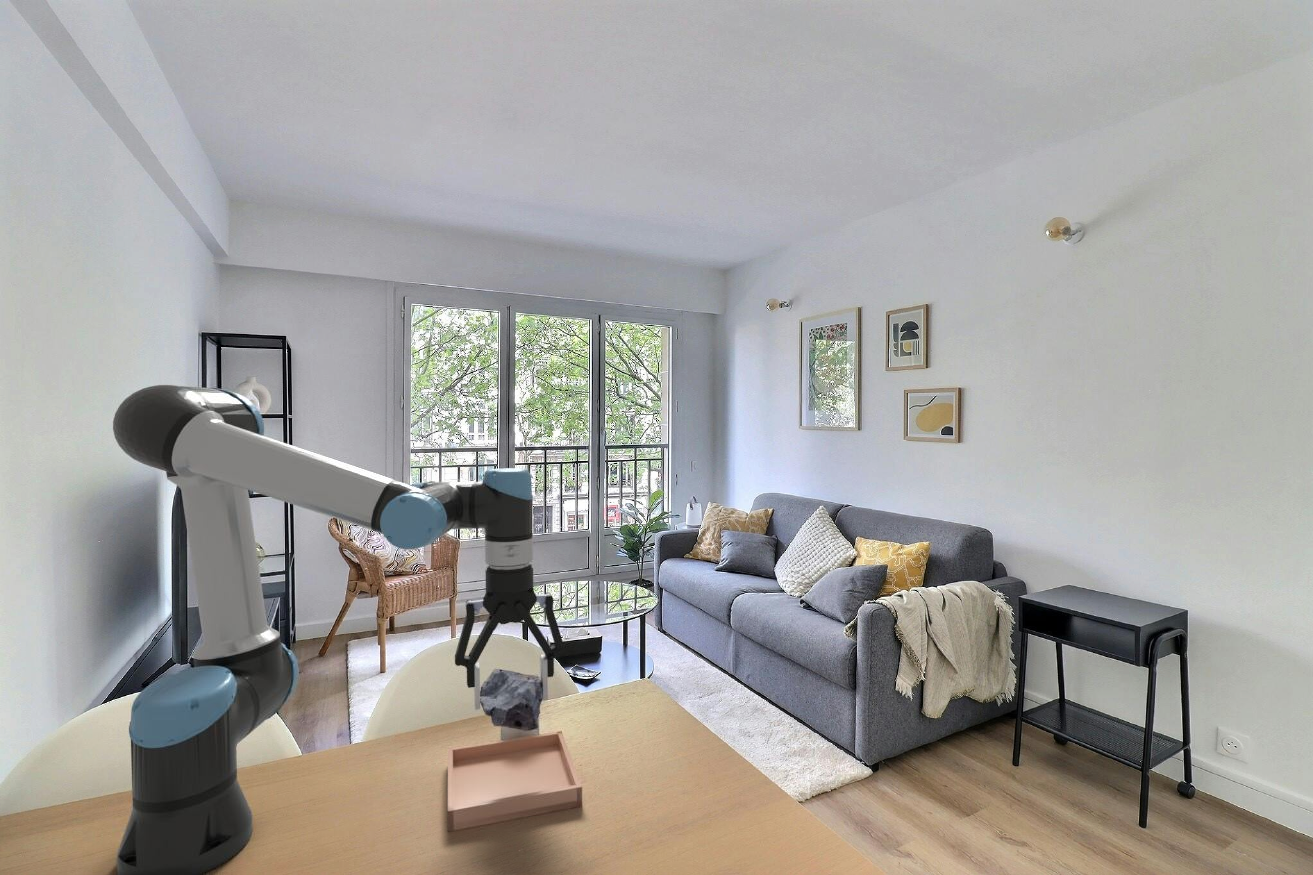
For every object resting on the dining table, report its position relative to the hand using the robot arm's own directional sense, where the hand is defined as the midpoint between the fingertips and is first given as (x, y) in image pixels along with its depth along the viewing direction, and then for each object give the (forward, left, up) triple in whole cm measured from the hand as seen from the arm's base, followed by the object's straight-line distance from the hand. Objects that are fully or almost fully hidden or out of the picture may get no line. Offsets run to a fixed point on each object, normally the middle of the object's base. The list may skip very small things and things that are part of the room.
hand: (511, 701), depth 104 cm
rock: (0, 0, -3) cm, 3 cm away
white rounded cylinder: (+3, +15, -14) cm, 21 cm away
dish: (0, 0, -14) cm, 14 cm away
